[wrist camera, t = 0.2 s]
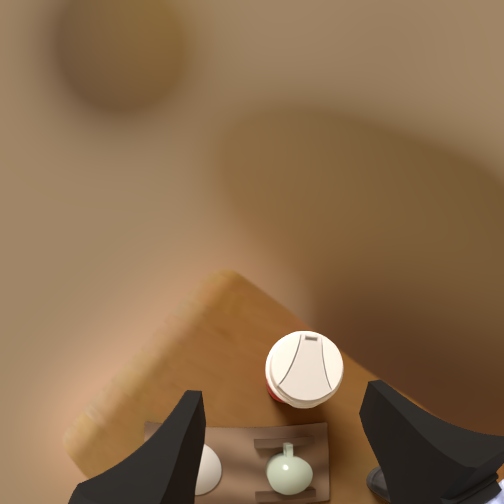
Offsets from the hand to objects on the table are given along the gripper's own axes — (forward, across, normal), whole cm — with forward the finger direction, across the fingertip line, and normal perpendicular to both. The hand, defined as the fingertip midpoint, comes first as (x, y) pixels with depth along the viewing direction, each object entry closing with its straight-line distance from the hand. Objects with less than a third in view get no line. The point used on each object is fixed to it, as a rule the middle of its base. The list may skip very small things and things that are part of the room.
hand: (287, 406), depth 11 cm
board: (+15, +3, +28) cm, 32 cm away
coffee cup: (+24, -4, +19) cm, 31 cm away
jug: (+14, -3, +27) cm, 31 cm away
